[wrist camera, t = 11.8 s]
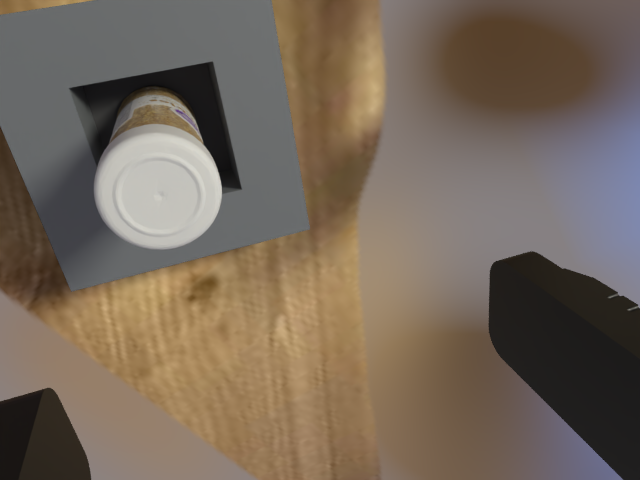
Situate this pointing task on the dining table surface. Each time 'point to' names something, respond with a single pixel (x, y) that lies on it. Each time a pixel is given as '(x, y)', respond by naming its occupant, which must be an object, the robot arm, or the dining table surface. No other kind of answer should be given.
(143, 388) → the dining table surface
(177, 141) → the sprinkles bottle
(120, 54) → the well block
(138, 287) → the dining table surface
